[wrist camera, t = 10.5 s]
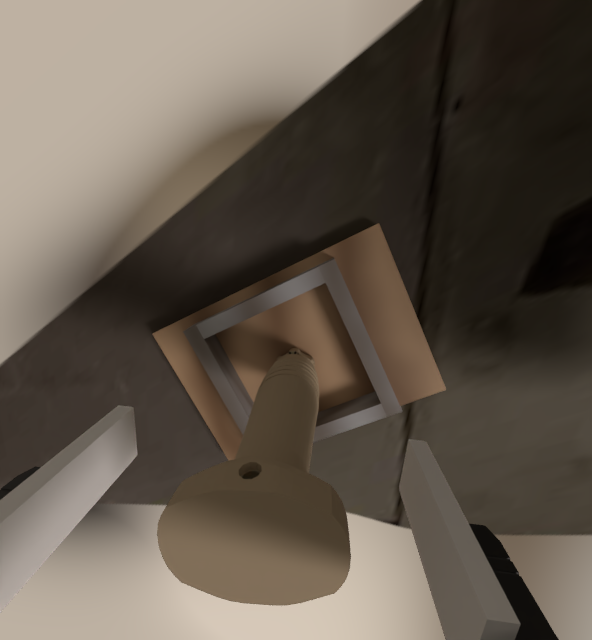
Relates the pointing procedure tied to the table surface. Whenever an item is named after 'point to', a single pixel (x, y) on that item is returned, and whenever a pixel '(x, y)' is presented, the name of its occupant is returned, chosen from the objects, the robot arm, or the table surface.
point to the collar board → (309, 341)
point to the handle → (263, 506)
